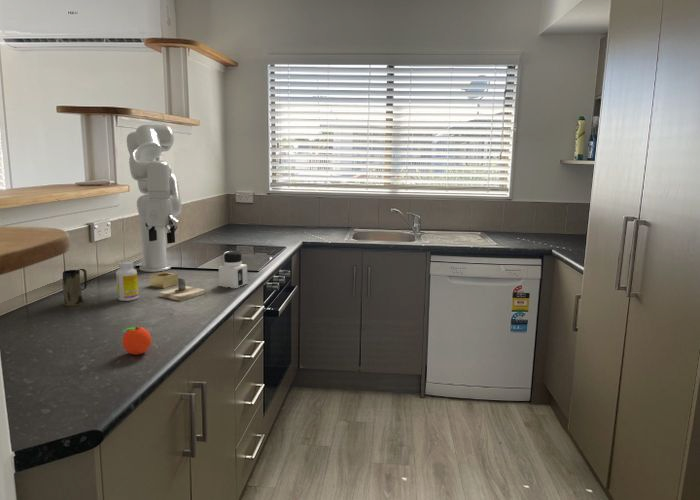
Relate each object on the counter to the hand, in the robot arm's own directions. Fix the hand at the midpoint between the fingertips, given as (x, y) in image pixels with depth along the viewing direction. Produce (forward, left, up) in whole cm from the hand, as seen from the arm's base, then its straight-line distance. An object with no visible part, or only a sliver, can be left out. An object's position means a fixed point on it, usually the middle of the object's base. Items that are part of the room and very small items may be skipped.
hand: (162, 241), depth 198 cm
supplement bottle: (+4, -19, -17) cm, 25 cm away
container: (+22, +14, -17) cm, 31 cm away
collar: (0, 0, -17) cm, 17 cm away
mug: (-5, -32, -17) cm, 36 cm away
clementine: (+47, -50, -17) cm, 70 cm away
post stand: (+16, -6, -17) cm, 24 cm away
